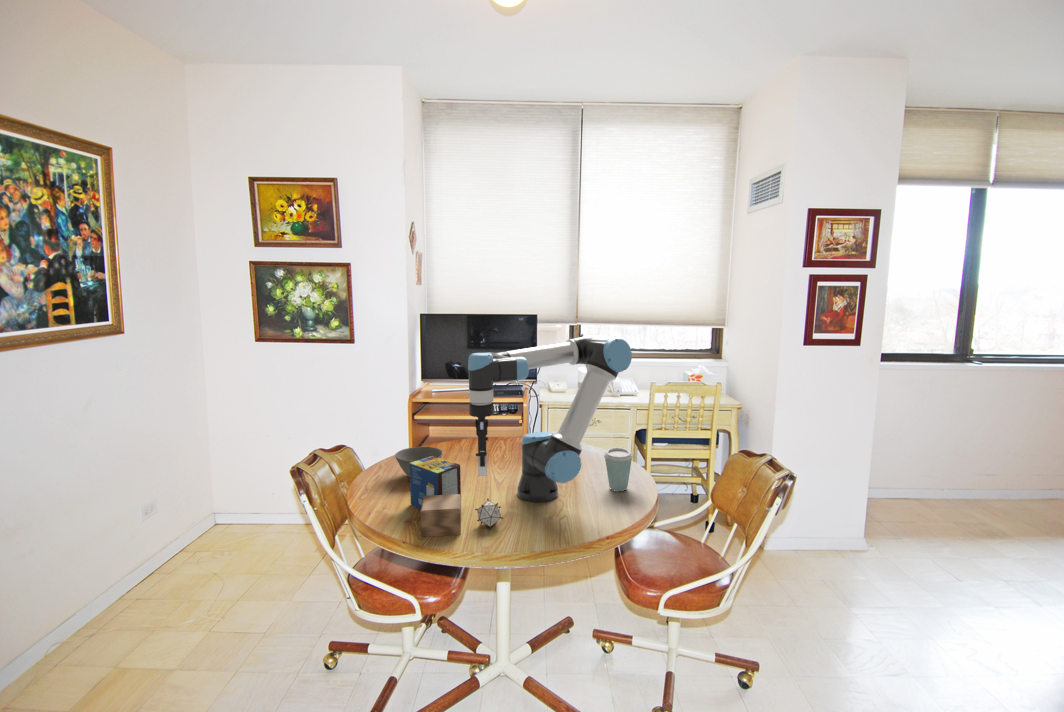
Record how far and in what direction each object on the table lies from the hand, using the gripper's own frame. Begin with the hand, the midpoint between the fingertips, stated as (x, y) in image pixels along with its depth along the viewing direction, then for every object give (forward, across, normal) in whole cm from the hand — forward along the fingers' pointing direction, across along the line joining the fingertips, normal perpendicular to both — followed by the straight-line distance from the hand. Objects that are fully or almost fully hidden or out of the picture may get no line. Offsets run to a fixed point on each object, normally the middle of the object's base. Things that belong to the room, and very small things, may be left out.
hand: (482, 468), depth 158 cm
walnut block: (+19, 0, -13) cm, 23 cm away
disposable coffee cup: (+20, -24, +51) cm, 60 cm away
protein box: (+19, -16, -17) cm, 30 cm away
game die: (+19, +1, +2) cm, 19 cm away
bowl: (+19, -44, -25) cm, 55 cm away
